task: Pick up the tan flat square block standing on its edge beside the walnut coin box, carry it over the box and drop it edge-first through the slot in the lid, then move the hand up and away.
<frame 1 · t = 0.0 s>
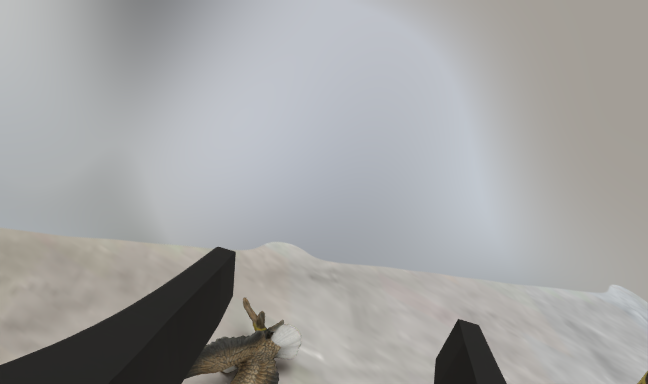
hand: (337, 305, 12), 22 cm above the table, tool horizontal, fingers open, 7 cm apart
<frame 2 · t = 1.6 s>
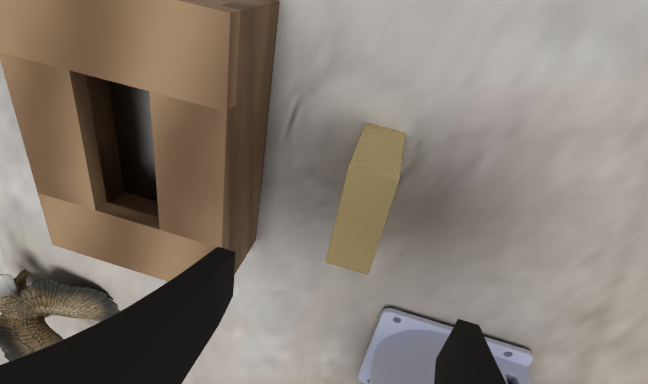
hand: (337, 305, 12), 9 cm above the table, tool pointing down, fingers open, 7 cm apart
eagle figurine: (70, 291, 33), on the table
coin box: (180, 119, 21), on the table
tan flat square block: (373, 170, 20), on the table
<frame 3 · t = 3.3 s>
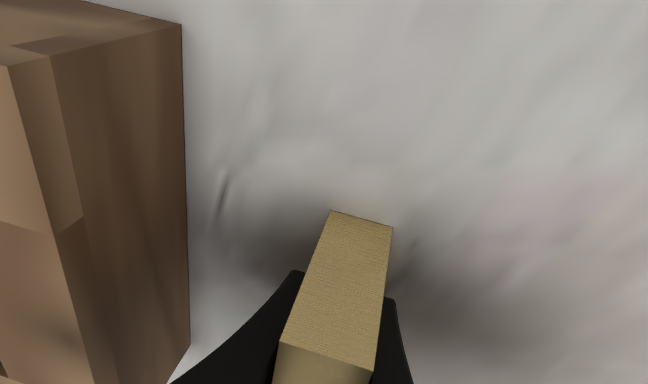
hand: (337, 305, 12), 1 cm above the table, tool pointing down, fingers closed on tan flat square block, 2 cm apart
coin box: (64, 191, 14), on the table
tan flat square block: (345, 275, 13), on the table, touching gripper
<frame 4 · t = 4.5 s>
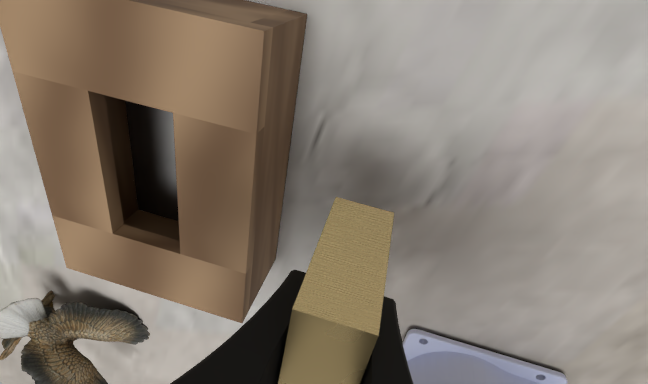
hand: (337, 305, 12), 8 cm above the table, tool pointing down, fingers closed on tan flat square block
eagle figurine: (98, 312, 32), on the table
coin box: (198, 136, 20), on the table
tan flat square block: (349, 259, 14), point 6 cm above the table, touching gripper
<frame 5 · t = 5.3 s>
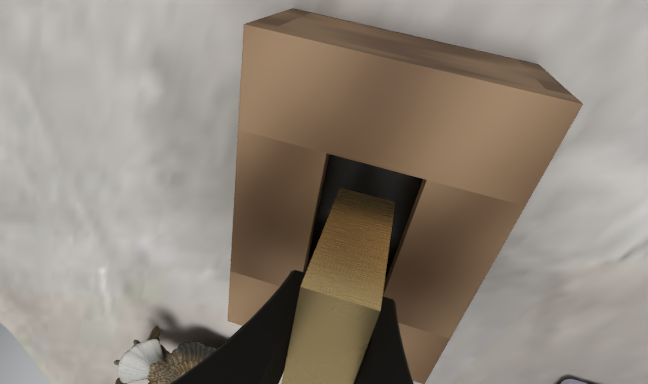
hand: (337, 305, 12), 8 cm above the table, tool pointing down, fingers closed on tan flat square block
eagle figurine: (203, 348, 30), on the table
coin box: (370, 182, 19), on the table
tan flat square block: (352, 248, 15), point 5 cm above the table, touching gripper
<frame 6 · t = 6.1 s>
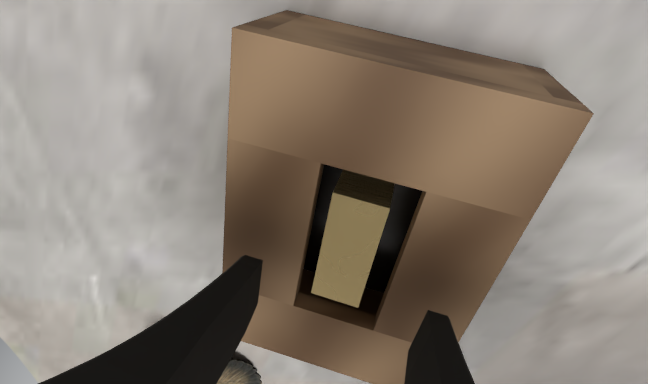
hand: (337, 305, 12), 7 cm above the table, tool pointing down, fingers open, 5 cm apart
eagle figurine: (203, 358, 30), on the table
coin box: (367, 190, 18), on the table
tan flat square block: (366, 189, 18), resting in coin box
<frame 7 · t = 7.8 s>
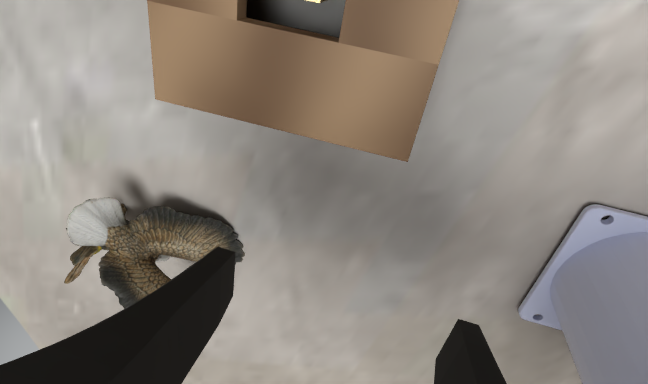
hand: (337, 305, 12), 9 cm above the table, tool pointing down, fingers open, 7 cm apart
eagle figurine: (178, 231, 26), on the table
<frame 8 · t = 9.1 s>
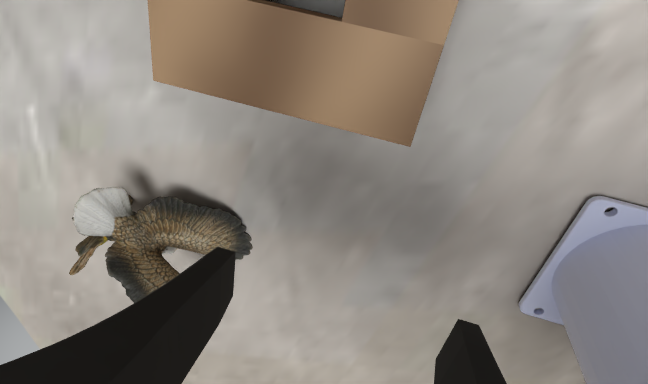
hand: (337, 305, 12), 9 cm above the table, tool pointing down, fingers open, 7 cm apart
eagle figurine: (185, 223, 25), on the table
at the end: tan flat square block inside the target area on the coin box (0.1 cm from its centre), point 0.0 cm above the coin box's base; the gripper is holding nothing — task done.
